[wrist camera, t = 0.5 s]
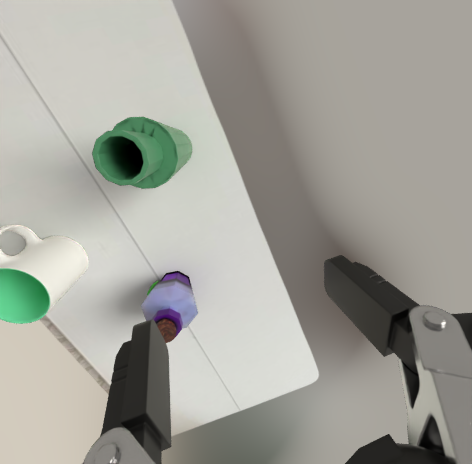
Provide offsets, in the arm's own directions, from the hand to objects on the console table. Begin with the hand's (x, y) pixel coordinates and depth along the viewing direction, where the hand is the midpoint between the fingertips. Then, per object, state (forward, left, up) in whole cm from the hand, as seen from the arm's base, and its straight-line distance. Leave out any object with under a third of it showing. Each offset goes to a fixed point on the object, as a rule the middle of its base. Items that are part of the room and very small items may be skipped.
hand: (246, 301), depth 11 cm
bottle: (-6, -6, -29) cm, 30 cm away
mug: (+8, -27, -29) cm, 41 cm away
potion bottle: (+17, -9, -29) cm, 35 cm away
